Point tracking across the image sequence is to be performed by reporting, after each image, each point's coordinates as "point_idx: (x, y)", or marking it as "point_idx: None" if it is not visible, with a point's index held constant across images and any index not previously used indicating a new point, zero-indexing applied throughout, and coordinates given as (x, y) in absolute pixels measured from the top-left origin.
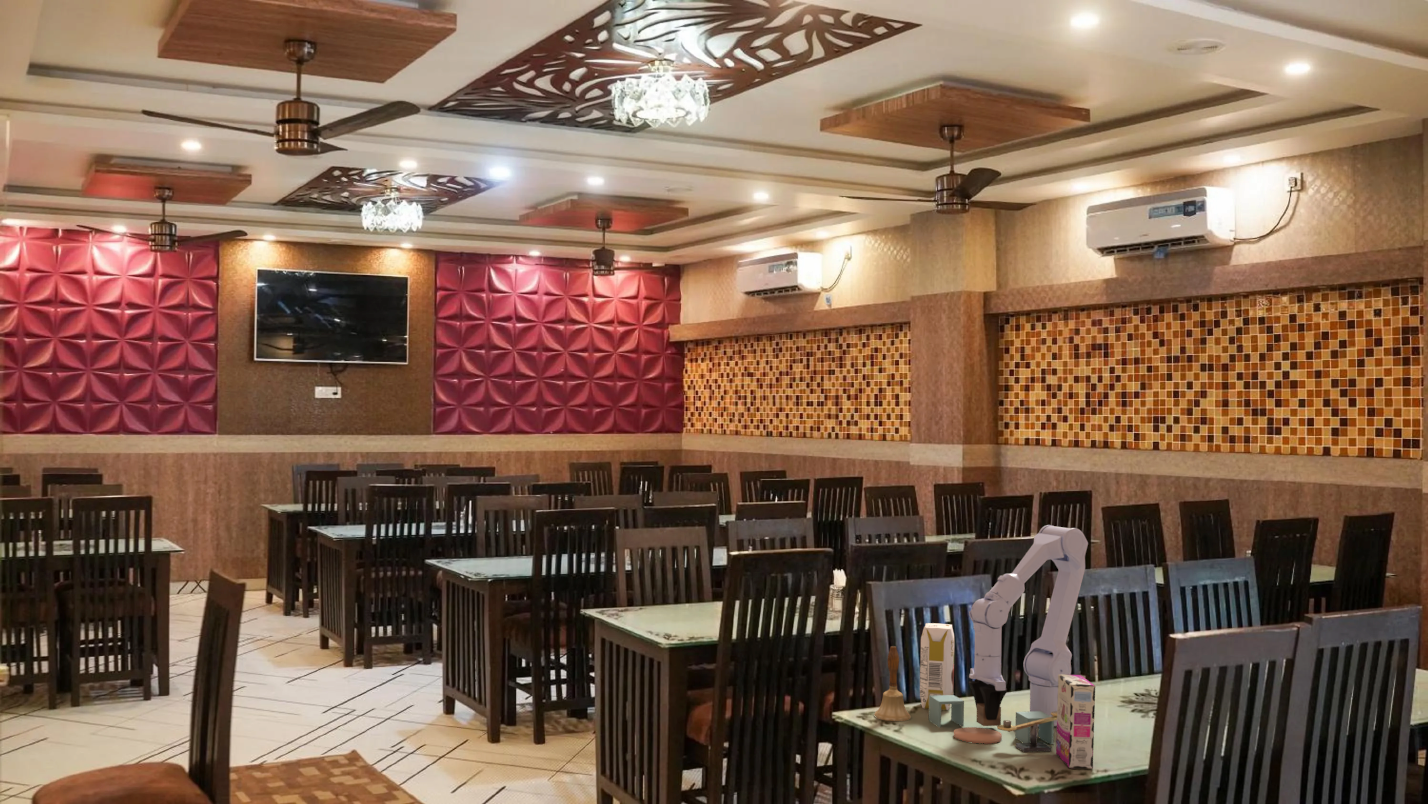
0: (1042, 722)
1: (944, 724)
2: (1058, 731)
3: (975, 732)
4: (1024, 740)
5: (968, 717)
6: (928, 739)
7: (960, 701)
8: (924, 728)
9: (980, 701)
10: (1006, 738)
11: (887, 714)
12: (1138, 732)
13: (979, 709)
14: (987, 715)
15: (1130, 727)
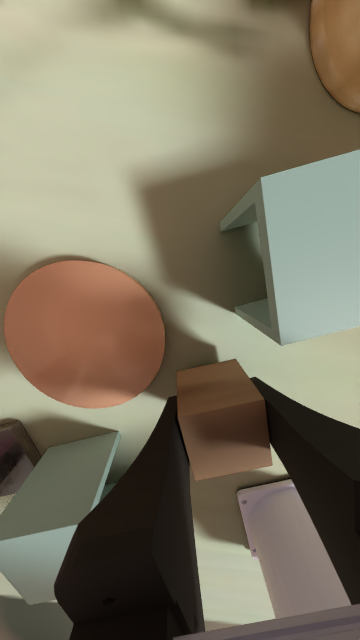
0: None
1: (256, 251)
2: None
3: (93, 336)
4: (62, 450)
5: (349, 343)
6: (11, 150)
7: (276, 324)
8: (187, 157)
9: (273, 420)
10: (106, 410)
11: None
12: (213, 617)
13: (222, 392)
14: (165, 407)
15: (249, 613)
